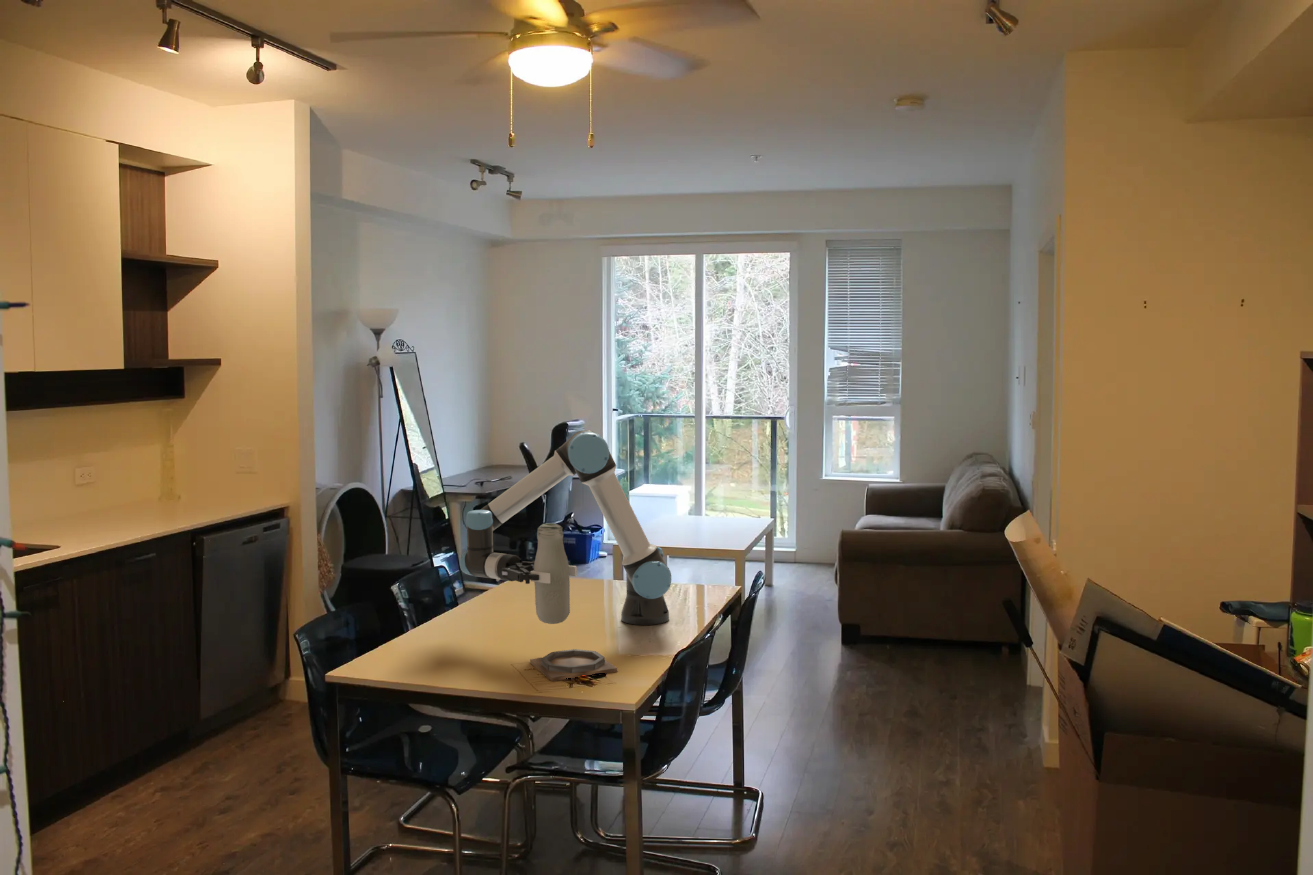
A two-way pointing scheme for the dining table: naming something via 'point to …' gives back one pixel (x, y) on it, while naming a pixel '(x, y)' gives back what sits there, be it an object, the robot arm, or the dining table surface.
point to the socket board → (572, 664)
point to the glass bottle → (552, 575)
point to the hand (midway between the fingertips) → (562, 574)
